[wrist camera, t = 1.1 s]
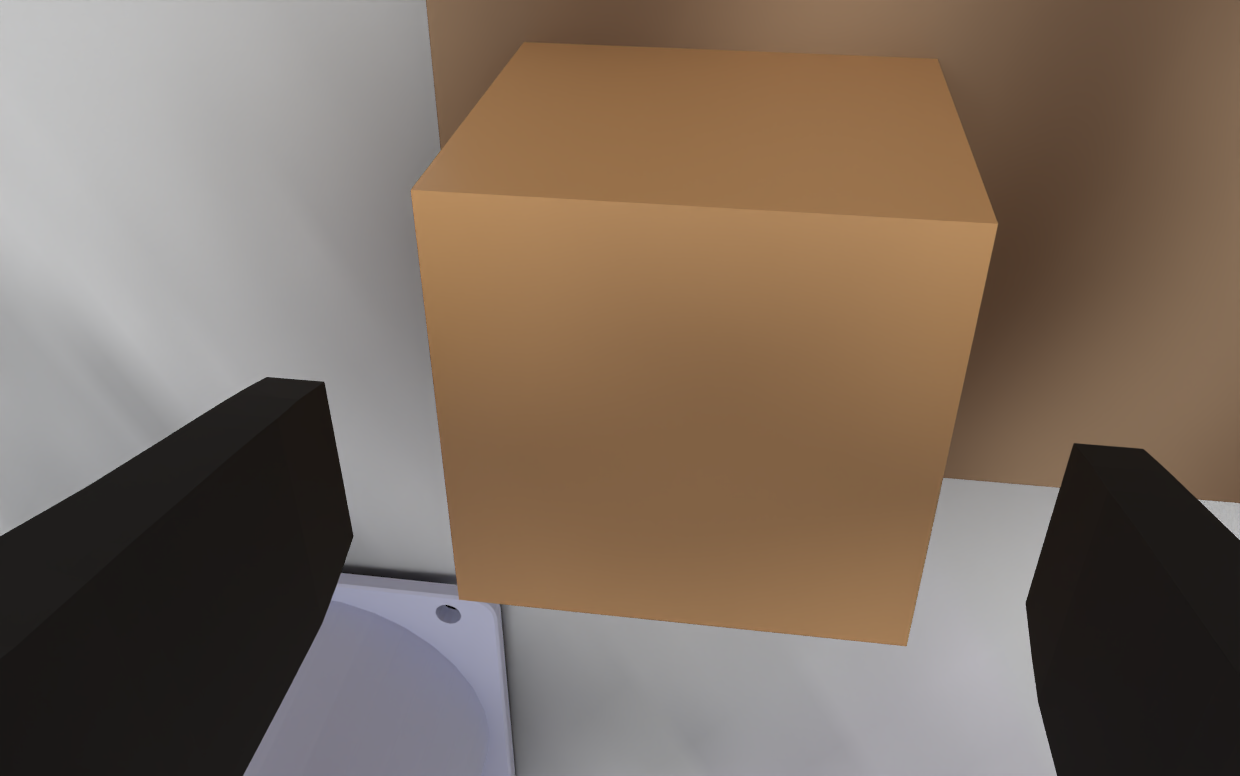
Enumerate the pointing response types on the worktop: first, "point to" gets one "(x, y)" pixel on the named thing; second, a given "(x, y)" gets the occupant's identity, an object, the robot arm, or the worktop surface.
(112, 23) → the worktop surface
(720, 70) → the tan shipping carton
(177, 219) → the worktop surface
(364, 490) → the worktop surface
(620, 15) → the board
